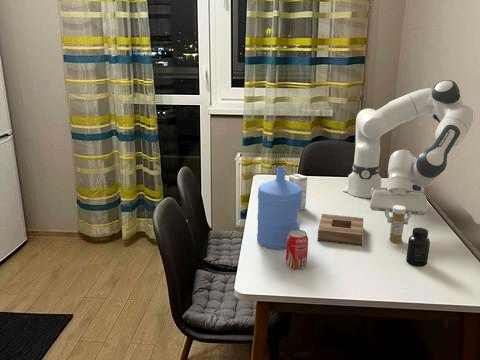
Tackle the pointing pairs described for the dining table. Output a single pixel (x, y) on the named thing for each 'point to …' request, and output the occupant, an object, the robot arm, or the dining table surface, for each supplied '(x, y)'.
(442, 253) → the dining table surface
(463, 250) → the dining table surface
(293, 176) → the syrup box
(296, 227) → the water jug
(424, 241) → the supplement bottle
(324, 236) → the socket block
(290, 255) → the soda can
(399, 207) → the sprinkles bottle
